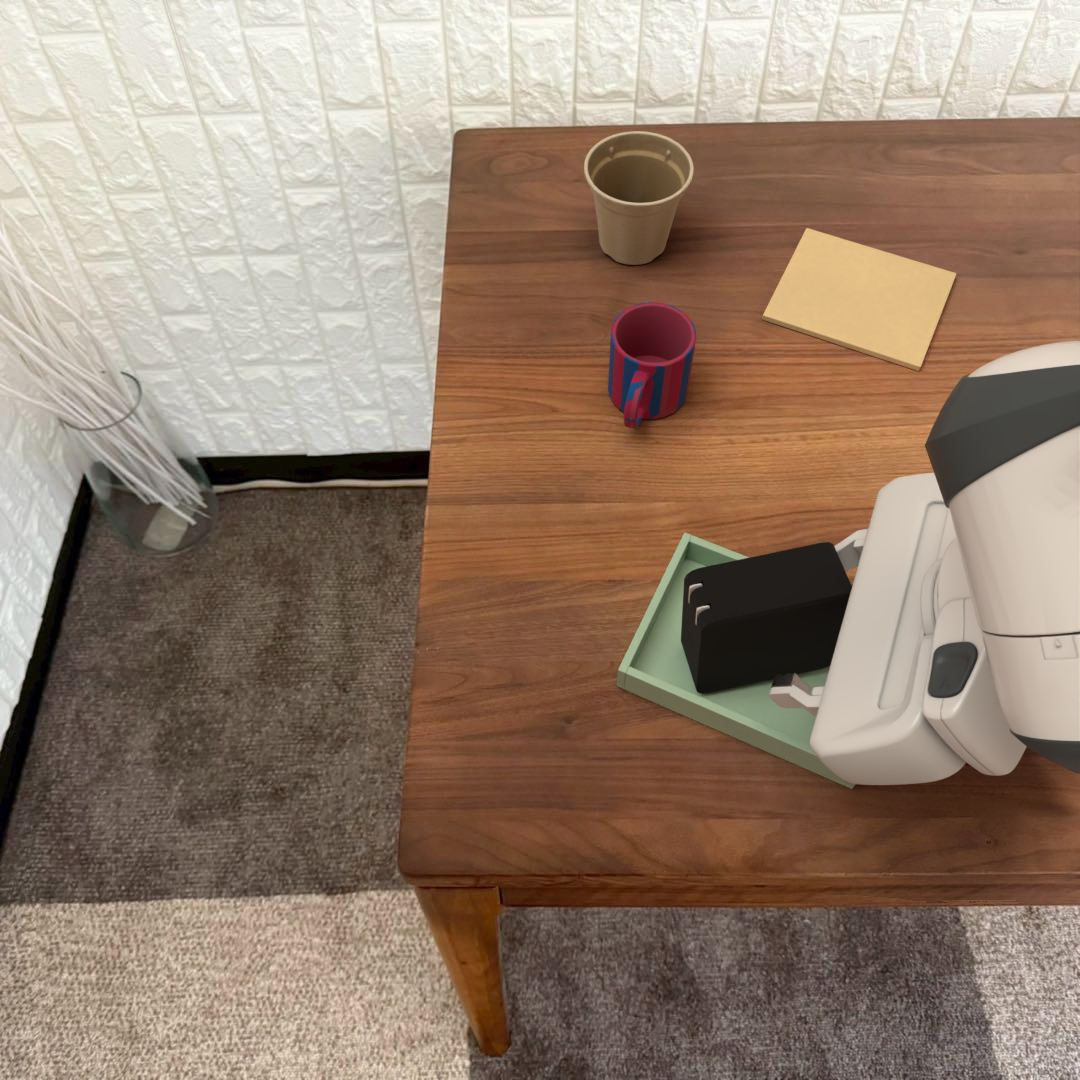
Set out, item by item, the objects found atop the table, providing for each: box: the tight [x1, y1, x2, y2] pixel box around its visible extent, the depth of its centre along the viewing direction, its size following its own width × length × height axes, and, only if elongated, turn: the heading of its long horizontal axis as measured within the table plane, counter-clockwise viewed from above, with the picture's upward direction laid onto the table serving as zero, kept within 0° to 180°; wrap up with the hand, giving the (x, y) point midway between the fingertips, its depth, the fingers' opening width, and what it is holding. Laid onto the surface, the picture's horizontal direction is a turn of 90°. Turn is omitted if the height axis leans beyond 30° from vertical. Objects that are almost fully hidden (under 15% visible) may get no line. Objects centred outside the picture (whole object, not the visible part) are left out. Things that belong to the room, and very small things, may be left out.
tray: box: [615, 532, 857, 790], centre depth 71 cm, size 17×12×3 cm
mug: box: [607, 301, 697, 429], centre depth 82 cm, size 7×10×7 cm
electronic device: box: [681, 541, 853, 694], centre depth 68 cm, size 4×10×10 cm, turn 101°
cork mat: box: [761, 227, 957, 372], centre depth 90 cm, size 14×12×1 cm
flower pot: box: [583, 130, 695, 266], centre depth 90 cm, size 9×9×9 cm
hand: (795, 628), depth 66 cm, fingers open, 8 cm apart
